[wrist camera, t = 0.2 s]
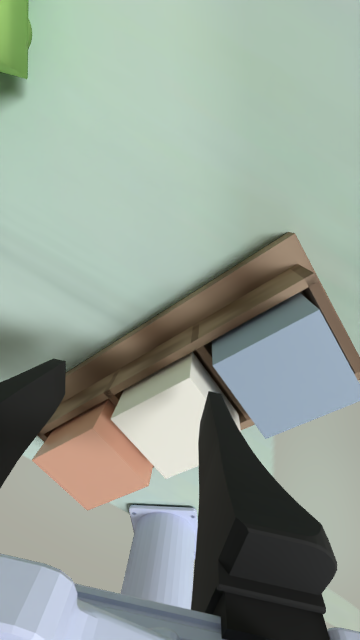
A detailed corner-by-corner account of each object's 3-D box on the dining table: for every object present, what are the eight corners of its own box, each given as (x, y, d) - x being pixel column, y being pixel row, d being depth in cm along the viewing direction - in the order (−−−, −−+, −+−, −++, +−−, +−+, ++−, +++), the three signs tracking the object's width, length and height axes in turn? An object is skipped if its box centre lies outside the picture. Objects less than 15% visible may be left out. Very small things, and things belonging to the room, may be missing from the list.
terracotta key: (101, 474, 25) (87, 510, 22) (54, 428, 23) (31, 460, 20) (156, 450, 23) (148, 485, 20) (109, 397, 21) (93, 428, 18)
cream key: (171, 443, 22) (165, 478, 19) (124, 389, 21) (110, 418, 18) (238, 413, 20) (243, 447, 17) (192, 351, 19) (189, 377, 16)
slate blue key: (257, 405, 20) (265, 438, 17) (211, 340, 18) (212, 365, 15) (341, 367, 18) (367, 397, 15) (299, 292, 16) (319, 309, 13)
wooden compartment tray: (118, 464, 29) (104, 506, 25) (43, 387, 26) (12, 420, 22) (355, 358, 22) (389, 392, 18) (288, 232, 19) (311, 237, 15)
